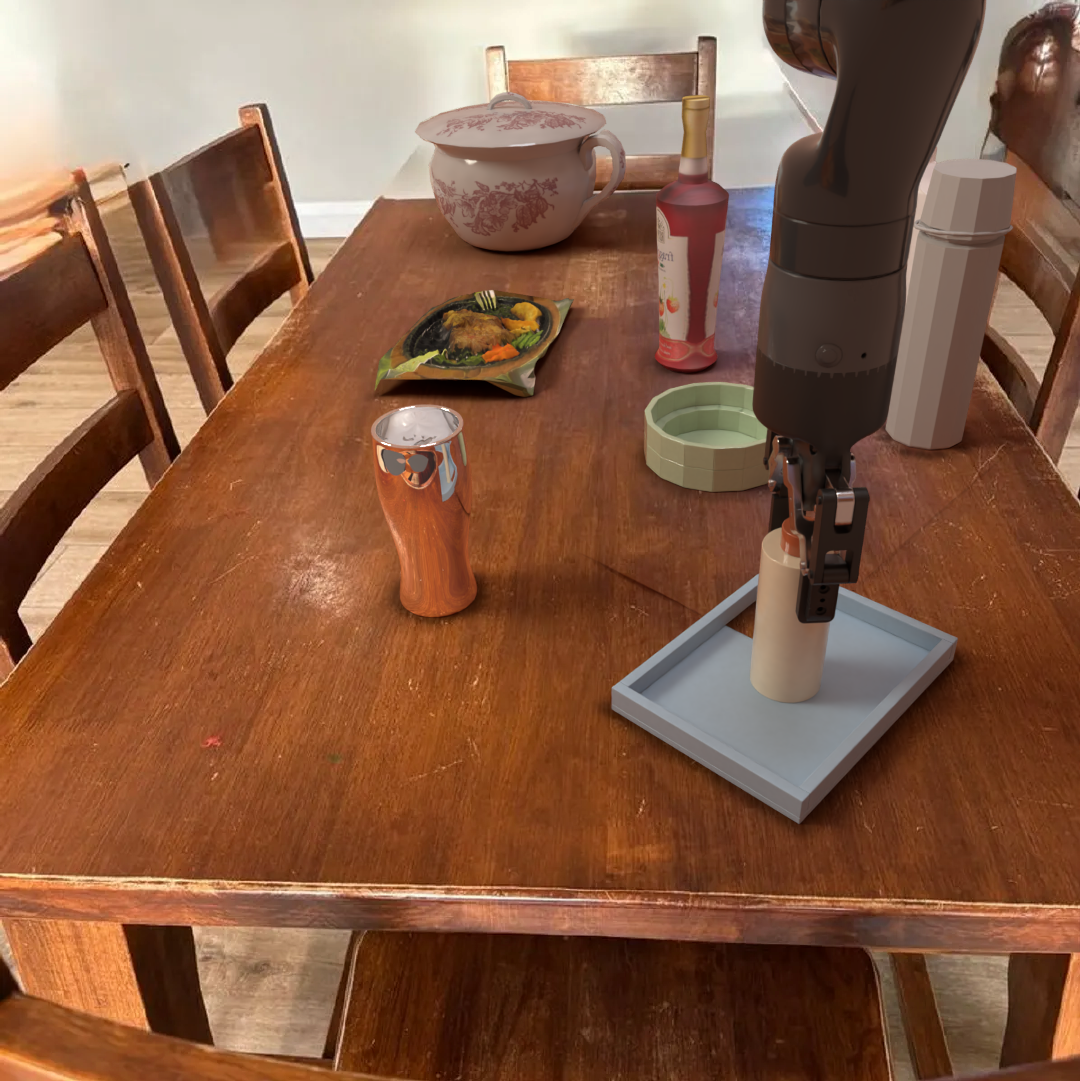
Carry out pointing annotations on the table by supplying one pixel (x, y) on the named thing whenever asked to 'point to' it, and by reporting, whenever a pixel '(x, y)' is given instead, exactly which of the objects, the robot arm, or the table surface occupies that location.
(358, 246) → the table surface
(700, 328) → the liquor
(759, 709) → the tray
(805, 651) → the bottle
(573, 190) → the chamber pot
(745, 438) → the bowl
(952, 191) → the water bottle
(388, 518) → the beer glass
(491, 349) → the prepared meal
